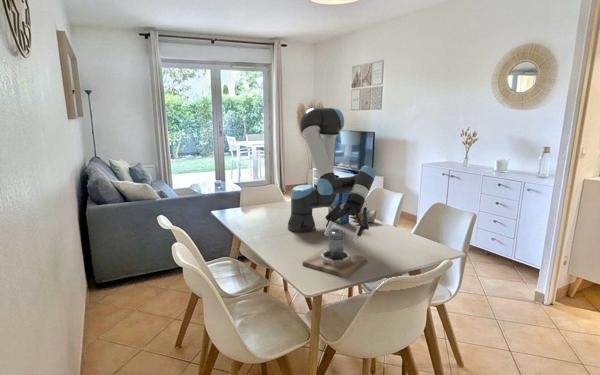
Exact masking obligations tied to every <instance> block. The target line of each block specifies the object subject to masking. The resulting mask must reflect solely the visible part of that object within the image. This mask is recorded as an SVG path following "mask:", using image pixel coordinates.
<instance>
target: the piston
mask: <svg viewBox="0 0 600 375" xmlns="http://www.w3.org/2000/svg"><path fill="white" fill-rule="evenodd" d="M344 243H345V231H343V230H341V229H331V230H330V231H329V235H328V243H327V244H328V245H327V246H328V259H332V260H342V259H343V253H344V251H345V250H344V249H345V248H344V246H345V245H344Z"/></svg>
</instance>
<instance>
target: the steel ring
mask: <svg viewBox="0 0 600 375" xmlns="http://www.w3.org/2000/svg"><path fill="white" fill-rule="evenodd" d="M349 253H350V252H349V251H346V250H344V253H343V256H344V257H346V258H345V259H342V260H332V259H328V258H325V257H326V256H327V255H328V250H325V251H324V252H322V253H321V254H320V258H321V260H322V262H323V263H326V264H329V265H333V266H337V265H346V264H347V263H349V262H350V261H351V256H350V255H349Z"/></svg>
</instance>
